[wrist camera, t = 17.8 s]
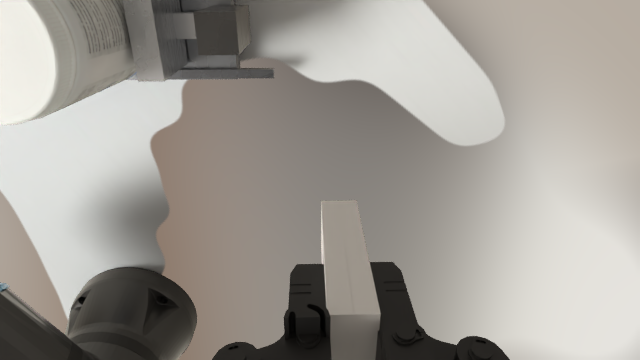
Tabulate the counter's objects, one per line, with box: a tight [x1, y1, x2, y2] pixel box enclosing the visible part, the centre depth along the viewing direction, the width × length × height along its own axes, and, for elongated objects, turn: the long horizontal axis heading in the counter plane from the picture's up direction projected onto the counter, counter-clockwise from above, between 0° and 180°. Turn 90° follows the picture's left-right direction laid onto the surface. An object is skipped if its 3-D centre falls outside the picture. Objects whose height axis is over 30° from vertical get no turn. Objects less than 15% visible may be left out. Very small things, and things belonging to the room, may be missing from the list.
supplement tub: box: [0, 0, 137, 125], centre depth 30 cm, size 10×10×15 cm
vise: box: [126, 0, 275, 80], centre depth 35 cm, size 10×24×9 cm, turn 90°
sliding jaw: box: [122, 0, 251, 81], centre depth 33 cm, size 7×8×8 cm
